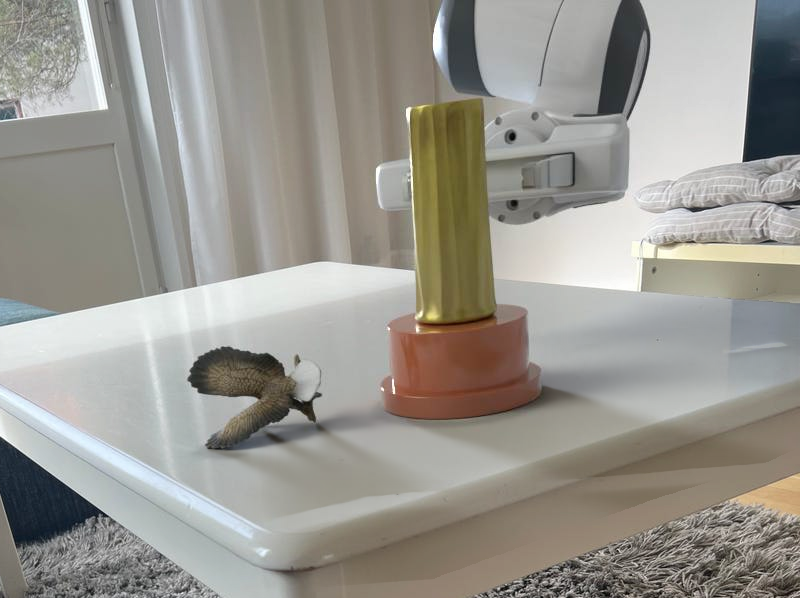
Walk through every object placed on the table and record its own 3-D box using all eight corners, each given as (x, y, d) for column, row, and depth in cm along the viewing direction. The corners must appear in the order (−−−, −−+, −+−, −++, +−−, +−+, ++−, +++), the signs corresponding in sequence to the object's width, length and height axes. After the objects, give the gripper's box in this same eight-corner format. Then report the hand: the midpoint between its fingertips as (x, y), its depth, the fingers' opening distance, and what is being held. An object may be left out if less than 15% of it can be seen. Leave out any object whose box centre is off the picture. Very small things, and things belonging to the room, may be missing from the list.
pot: (532, 370, 81) (531, 294, 78) (550, 409, 70) (549, 323, 67) (384, 385, 83) (377, 311, 80) (379, 425, 72) (371, 341, 69)
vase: (505, 317, 71) (498, 95, 64) (421, 328, 71) (406, 107, 64) (486, 305, 76) (478, 98, 70) (409, 315, 76) (394, 110, 70)
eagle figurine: (285, 394, 79) (179, 397, 75) (309, 322, 73) (196, 321, 70) (318, 462, 75) (208, 469, 71) (346, 391, 70) (229, 394, 66)
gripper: (408, 139, 86) (340, 151, 76) (646, 110, 77) (607, 119, 67) (413, 216, 89) (348, 238, 79) (644, 196, 80) (605, 218, 69)
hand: (469, 183), depth 73 cm, fingers open, 8 cm apart
